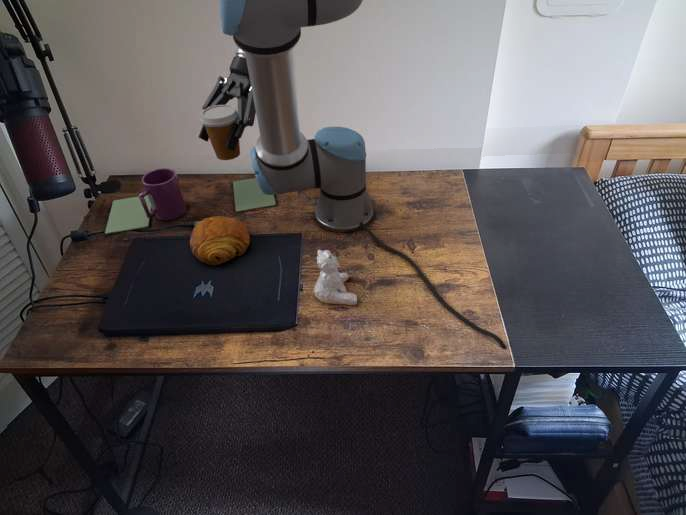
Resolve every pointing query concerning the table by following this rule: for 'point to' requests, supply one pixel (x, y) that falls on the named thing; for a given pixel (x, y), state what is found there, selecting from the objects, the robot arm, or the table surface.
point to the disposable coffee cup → (220, 129)
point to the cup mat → (250, 196)
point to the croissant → (219, 239)
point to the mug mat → (127, 215)
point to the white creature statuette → (332, 281)
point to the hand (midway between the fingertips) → (215, 144)
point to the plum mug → (163, 194)
